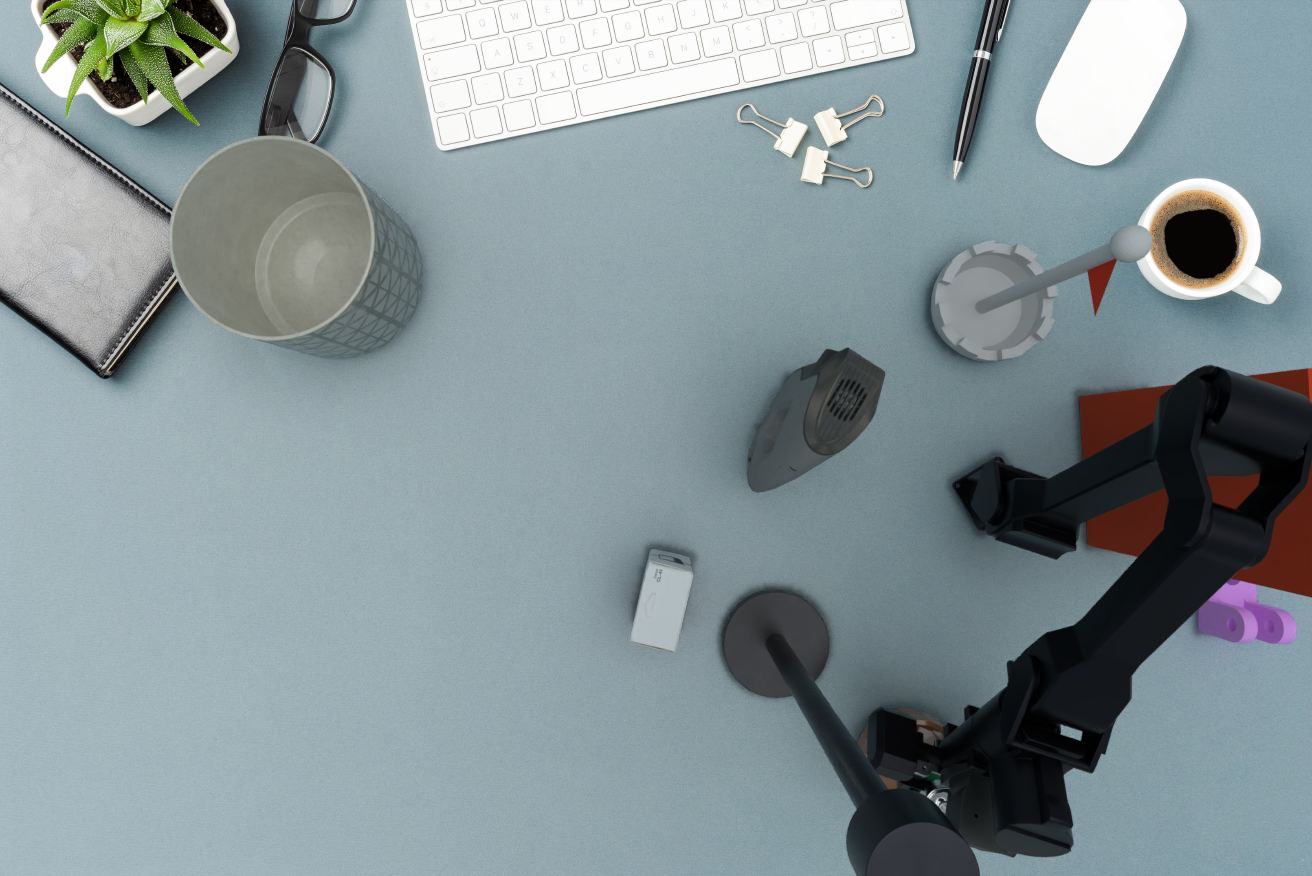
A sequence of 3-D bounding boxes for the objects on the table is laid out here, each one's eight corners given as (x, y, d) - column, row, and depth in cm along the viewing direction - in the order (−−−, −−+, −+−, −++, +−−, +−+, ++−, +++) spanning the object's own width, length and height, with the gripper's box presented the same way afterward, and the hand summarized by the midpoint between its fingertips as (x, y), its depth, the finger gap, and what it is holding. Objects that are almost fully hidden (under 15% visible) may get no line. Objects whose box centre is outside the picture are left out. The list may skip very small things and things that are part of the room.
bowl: (834, 739, 89) (843, 754, 85) (921, 687, 89) (934, 699, 85) (886, 826, 89) (897, 845, 84) (972, 774, 89) (988, 791, 85)
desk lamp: (703, 623, 89) (763, 839, 40) (792, 570, 89) (962, 720, 40) (756, 713, 89) (883, 1041, 40) (845, 659, 89) (1082, 921, 40)
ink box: (674, 629, 89) (677, 657, 77) (631, 619, 89) (628, 646, 77) (691, 555, 89) (697, 572, 77) (648, 545, 89) (648, 560, 77)
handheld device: (839, 392, 89) (911, 370, 64) (768, 503, 89) (813, 524, 64) (795, 364, 89) (849, 331, 64) (724, 474, 89) (752, 485, 64)
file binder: (1083, 545, 89) (1324, 600, 57) (1075, 396, 89) (1309, 368, 57) (1153, 541, 89) (1432, 594, 57) (1144, 392, 89) (1417, 362, 57)
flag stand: (929, 245, 89) (1069, 143, 59) (1041, 260, 89) (1236, 166, 59) (914, 356, 89) (1046, 310, 59) (1026, 371, 89) (1214, 334, 59)
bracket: (1245, 632, 89) (1296, 648, 82) (1198, 630, 89) (1244, 646, 82) (1249, 519, 89) (1299, 526, 82) (1201, 518, 89) (1247, 524, 82)
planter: (258, 207, 89) (157, 146, 71) (421, 189, 89) (363, 124, 71) (275, 370, 89) (178, 350, 71) (439, 352, 89) (384, 328, 71)
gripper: (905, 791, 65) (834, 847, 76) (1116, 861, 65) (1014, 907, 76) (904, 674, 73) (839, 740, 84) (1092, 736, 73) (1003, 794, 84)
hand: (922, 796), depth 82 cm, fingers closed on soda can, 5 cm apart
